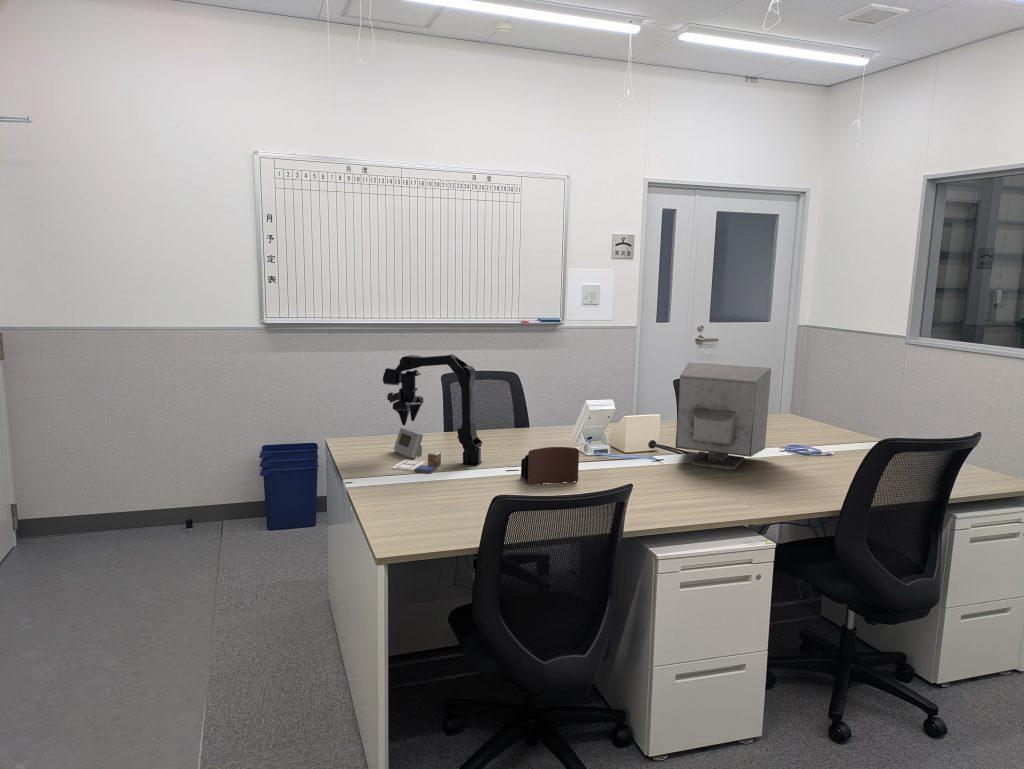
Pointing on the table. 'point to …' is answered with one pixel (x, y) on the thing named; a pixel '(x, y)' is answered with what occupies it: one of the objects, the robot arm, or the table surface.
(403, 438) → the digital clock
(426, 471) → the ink pad
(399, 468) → the sheet
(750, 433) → the crt monitor
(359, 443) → the table surface
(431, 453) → the beige block
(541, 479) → the letter holder
